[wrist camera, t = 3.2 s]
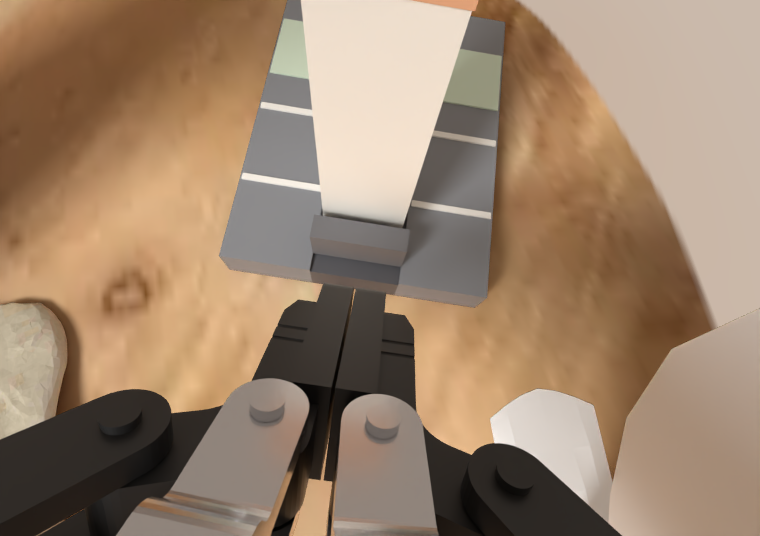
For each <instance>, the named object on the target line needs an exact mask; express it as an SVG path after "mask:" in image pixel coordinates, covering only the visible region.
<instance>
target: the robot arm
mask: <svg viewBox="0 0 760 536" xmlns="http://www.w3.org/2000/svg"><path fill="white" fill-rule="evenodd" d="M353 292H354V287H349V286H343V285H336V284H329V283H324V284H323V286H322V289H321V292H320V295H319V298H318V301H317V302H311V301H304V300H297V301H296V302H295V303H293V304H292V305H291V306H289V307H288V308H286V309H285V310H284V312H283V314H282V316H281V318H280V321H279V323H278V327H276V329H275V331H274V334H273V337H272V338H271V340H270V342H269V344H268V347H267V349H266V351H265V353H264V355H263V357H262V359H261V362H260V364H259V366H258V368H257V370H256V372H255V375H254V377H253V379H252V381H251V382H248V383H246V384H244V385H242V386H240V387H238V388H237V389H236V390H234V391H233V392H232V393H231V394H230V396H229V397H228V398H227V400H226V402H225V403H224V405H222V406H219V407H215V408H212V409H206V410H199V411H189V412H180V413H171V408H170V405H169V403H168V402H167V400H166V399H165V398H164V397H162V396H161V395H159V394H157V393H155V392H152V391H148V390H140V389H131V390H123V391H117V392H114V393H110V394H107V395H105V396H102V397H100V398H97V399H95V400H92V401H90V402H88V403H85V404H83V405H81V406H78V407H76V408H73V409H71V410H69V411H66V412H64V413H62V414H59V415H57V416H55V417H52V418H50V419H47V420H45V421H43V422H40V423H38V424H36V425H33V426H31V427H28V428H26V429H24V430H21V431H19V432H17V433H14V434H12V435H10V436H7V437H5V438H2V439H0V536H36V535H38V534H40V533H42V532H43V531H45V530H47V529H49V528H50V527H52V526H54V525H56V524H57V523H59V522H61V521H63V520H64V519H66V518H68V517H70V516H71V515H73V514H75V513H77V512H78V511H80V510H82V509H84V510H82V511H80V512H79V513H77V514H75V515H73V516H72V517H70V518H68V519H66V520H65V521H63V522H61V523H59V524H58V525H56V526H54V527H52V528H51V529H49V530H47V531H45V532H44V533H42V534H40V535H38V536H293V534H294V531H295V528H296V525H297V522H298V518H299V511H300V508H301V506H302V504H303V501H304V497H305V492H306V488H307V484H308V479H309V478H310V479H317V480H320V479H321V474H322V469H323V464H324V459H325V454H326V449H327V444H328V451H327V459H326V467H325V474H324V480H325V481H332V489H331V496H330V504H329V511H328V518H327V526H326V536H622V535H621V534H620V533H619V532H618V531H616V530H615V529H614V528H613V527H612V526H611V525H610V524H609V523H608V522H606V521H605V520H604V519H603V518H602V517H601V516H600V515H599V514H598V513H597V512H595V511H594V510H593V509H592V508H591V507H590V506H589V505H588V504H587V503H586V502H584V501H583V500H582V499H581V498H580V497H579V496H578V495H577V494H576V493H575V492H573V491H572V490H571V489H570V488H569V487H568V486H567V485H566V484H565V483H564V482H562V481H561V480H560V479H559V478H558V477H557V476H556V475H555V474H554V473H553V472H551V471H550V470H549V469H548V468H547V467H546V466H545V465H544V464H543V463H542V462H540V461H539V460H538V459H537V458H536V457H534V456H533V455H531V454H530V453H528V452H526V451H524V450H522V449H520V448H518V447H515V446H512V445H508V444H502V443H492V444H487V445H484V446H482V447H480V448H478V449H477V450H476V451H475V452H474V453H473V454H472V455H470V454H468V453H465V452H463V451H461V450H458V449H456V448H453V447H451V446H449V445H447V444H445V443H443V442H441V441H440V440H438V439H437V438H435V437H434V436H433V435H432V434H430V433H429V432H428V431H427V430H426V428H425V427H424V426H423V424H422V421H421V419H420V417H419V415H418V414H417V412H416V394H415V359H414V356H415V355H414V329H413V327H412V326H411V324H410V323H409V321H408V320H407V318H406V316H405V315H398V314H392V313H385V312H384V310H385V298H386V292H383V291H376V290H370V289H363V288H357V287H356V291H355V296H354V301H353V306H352V300H353ZM351 307H352V311H351ZM329 434H330V435H329ZM328 439H329V443H328Z"/></svg>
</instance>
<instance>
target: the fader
mask: <svg viewBox="0 0 760 536" xmlns="http://www.w3.org/2000/svg"><path fill="white" fill-rule="evenodd" d="M477 3H478V0H301V7H302V16H303V26H304V36H305V45H306V55H307V65H308V74H309V84H310V94H311V103H312V113H313V122H314V132H315V142H316V151H317V161H318V171H319V180H320V190H321V200H322V209H323V216H327V217H334V218H340V219H346V220H352V221H359V222H365V223H371V224H377V225H384V226H390V227H396V228H402V227H403V224H404V221H405V218H406V215H407V212H408V209H409V206H410V203H411V199H412V196H413V193H414V190H415V187H416V184H417V181H418V178H419V174H420V171H421V168H422V165H423V162H424V159H425V156H426V153H427V150H428V146H429V143H430V140H431V137H432V134H433V131H434V128H435V125H436V122H437V118H438V115H439V112H440V109H441V106H442V103H443V100H444V97H445V93H446V90H447V87H448V84H449V81H450V78H451V75H452V72H453V69H454V65H455V62H456V59H457V56H458V53H459V50H460V47H461V44H462V41H463V37H464V34H465V31H466V28H467V25H468V22H469V19H470V16H471V12H472V11H475V9H476V6H477Z"/></svg>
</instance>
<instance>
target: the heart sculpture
mask: <svg viewBox="0 0 760 536" xmlns="http://www.w3.org/2000/svg"><path fill="white" fill-rule="evenodd" d="M490 421H491V427H492V432H493V438H494V443H502V444H508V445H512V446H515V447H518V448H520V449H522V450H524V451H526V452H528V453H530V454H531V455H533V456H534V457H536V458H537V459H538V460H539V461H540V462H542V463H543V464H544V465H545V466H546V467H547V468H548V469H549V470H550V471H551V472H553V473H554V474H555V475H556V476H557V477H558V478H559V479H560V480H561V481H562V482H564V483H565V484H566V485H567V486H568V487H569V488H570V489H571V490H572V491H573V492H575V493H576V494H577V495H578V496H579V497H580V498H581V499H582V500H583V501H584V502H586V503H587V504H588V505H589V506H590V507H591V508H592V509H593V510H594V511H595V512H597V513H598V514H599V515H600V516H601V517H602V518H603V519H604V520H605V521H606V522H608V523H609V524H610V525H611V526H612V527H613V528H614V529H615V530H616V531H618V532H619V533H620V534H621V535H622V536H760V308H759V309H757V310H755V311H753V312H751V313H749V314H746V315H744V316H742V317H740V318H738V319H735V320H733V321H731V322H729V323H727V324H725V325H722V326H720V327H718V328H716V329H714V330H711V331H709V332H707V333H705V334H703V335H701V336H698V337H696V338H694V339H692V340H690V341H688V342H685V343H683V344H681V345H679V346H677V347H675V348H672V349H671V350H670V352H669V354H668V355H667V357H666V358H665V360H664V361H663V363H662V364H661V366H660V367H659V369H658V370H657V372H656V373H655V375H654V377H653V378H652V380H651V381H650V383H649V384H648V386H647V387H646V389H645V390H644V392H643V393H642V395H641V396H640V398H639V400H638V401H637V403H636V404H635V406H634V407H633V409H632V410H631V412H630V413H629V415H628V416H627V418H626V422H625V427H624V432H623V436H622V441H621V446H620V450H619V455H618V460H617V465H616V469H615V474H614V479H613V482H612V478H611V474H610V470H609V466H608V462H607V458H606V454H605V450H604V446H603V442H602V437H601V433H600V429H599V425H598V421H597V417H596V413H595V409H594V405H592V404H590V403H587V402H585V401H583V400H580V399H578V398H576V397H573V396H570V395H567V394H564V393H561V392H557V391H553V390H545V389H535V390H533V391H530V392H528V393H525V394H523V395H521V396H519V397H518V398H516V399H515V400H513V401H512V402H510V403H509V404H507V405H506V406H504V407H503V408H502V409H501V410H500V411H499V412H497V413H496V414H495V415H494V416H493V417H491V418H490Z"/></svg>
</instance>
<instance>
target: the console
mask: <svg viewBox="0 0 760 536" xmlns="http://www.w3.org/2000/svg"><path fill="white" fill-rule="evenodd" d="M504 35H505V22H502V21H496V20H490V19H485V18H479V17H473V16H470V19H469V22H468V25H467V28H466V31H465V34H464V37H463V41H462V44H461V47H460V50H459V53H458V56H457V59H456V62H455V65H454V69H453V72H452V75H451V78H450V81H449V84H448V87H447V90H446V93H445V97H444V100H443V103H442V106H441V109H440V112H439V115H438V118H437V122H436V125H435V128H434V131H433V134H432V137H431V140H430V143H429V146H428V150H427V153H426V156H425V159H424V162H423V165H422V168H421V171H420V174H419V178H418V181H417V184H416V187H415V190H414V193H413V196H412V199H411V203H410V206H409V209H408V212H407V215H406V218H405V221H404V224H403V227H402V228H396V227H390V226H384V225H377V224H371V223H365V222H359V221H352V220H346V219H340V218H334V217H327V216H323V209H322V200H321V190H320V180H319V171H318V161H317V151H316V142H315V132H314V122H313V113H312V103H311V94H310V84H309V74H308V65H307V55H306V45H305V36H304V26H303V16H302V7H301V0H287V4H286V7H285V11H284V15H283V19H282V22H281V26H280V30H279V34H278V37H277V41H276V45H275V49H274V52H273V56H272V60H271V63H270V67H269V71H268V75H267V78H266V82H265V86H264V90H263V93H262V97H261V101H260V105H259V108H258V112H257V116H256V120H255V123H254V127H253V131H252V134H251V138H250V142H249V146H248V149H247V153H246V157H245V161H244V164H243V168H242V172H241V176H240V179H239V183H238V187H237V191H236V194H235V198H234V202H233V206H232V209H231V213H230V217H229V220H228V224H227V228H226V232H225V235H224V239H223V243H222V247H221V250H220V254H219V257H220V258H221V259H222V260H223V262H224V263H225V264H226V265H227V267H228V268H229V269H230V270H236V271H242V272H249V273H255V274H261V275H268V276H274V277H281V278H287V279H294V280H300V281H307V282H313V283H319V284H324V283H329V284H336V285H343V286H349V287H354V289H356V287H357V288H363V289H370V290H376V291H383V292H386V294H390V295H397V296H403V297H410V298H416V299H423V300H429V301H435V302H442V303H448V304H455V305H461V306H468V307H474V308H475V307H476V306H477V305H479V304H480V303H481V302H482V301H484V300H485V299H486V298H487V291H488V276H489V261H490V246H491V231H492V216H493V201H494V186H495V171H496V156H497V140H498V125H499V110H500V95H501V80H502V65H503V50H504Z"/></svg>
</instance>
